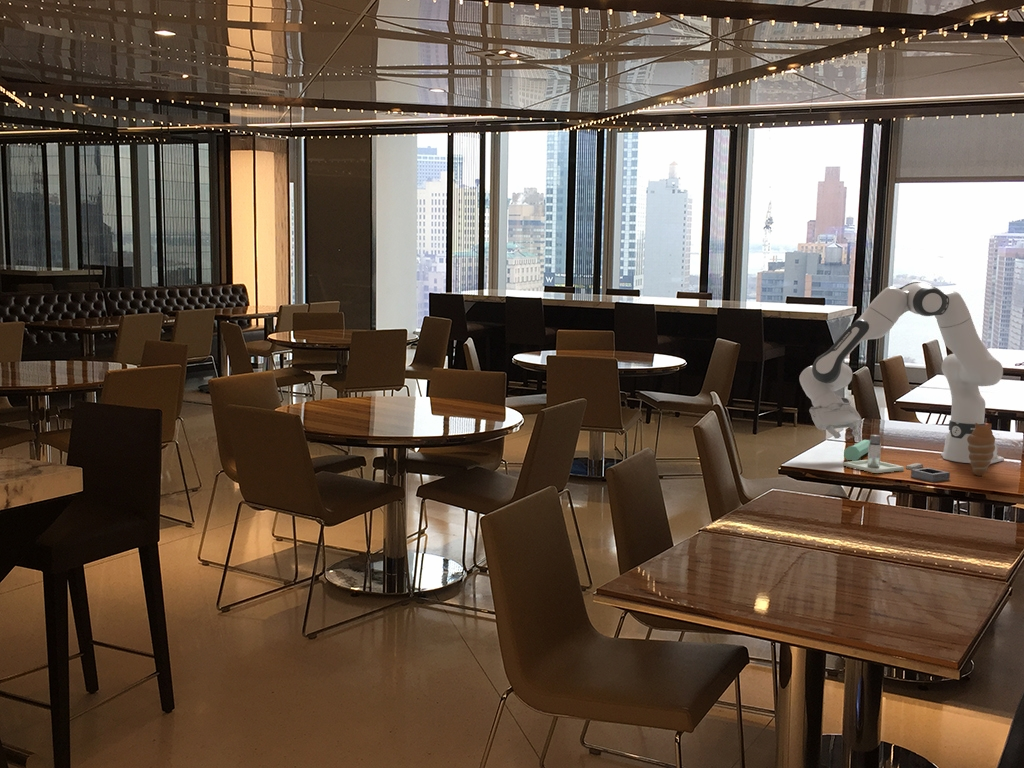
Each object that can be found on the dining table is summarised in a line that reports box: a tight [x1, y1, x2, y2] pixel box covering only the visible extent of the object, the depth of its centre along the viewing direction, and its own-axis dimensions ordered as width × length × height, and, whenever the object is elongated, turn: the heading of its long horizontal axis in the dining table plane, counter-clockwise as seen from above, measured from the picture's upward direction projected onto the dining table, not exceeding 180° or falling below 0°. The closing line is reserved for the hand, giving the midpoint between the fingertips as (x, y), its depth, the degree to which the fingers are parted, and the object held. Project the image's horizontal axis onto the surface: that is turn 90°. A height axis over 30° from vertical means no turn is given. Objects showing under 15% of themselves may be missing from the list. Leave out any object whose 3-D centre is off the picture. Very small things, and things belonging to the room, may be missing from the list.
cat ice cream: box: [967, 423, 996, 477], centre depth 326 cm, size 9×8×18 cm
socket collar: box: [910, 467, 951, 483], centre depth 320 cm, size 8×8×2 cm
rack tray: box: [842, 459, 905, 473], centre depth 334 cm, size 14×14×2 cm
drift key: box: [905, 462, 924, 471], centre depth 338 cm, size 8×2×2 cm, turn 134°
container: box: [843, 439, 870, 461], centre depth 358 cm, size 6×6×25 cm
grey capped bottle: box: [867, 434, 882, 468], centre depth 334 cm, size 4×4×11 cm
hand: (847, 436), depth 344 cm, fingers open, 8 cm apart
